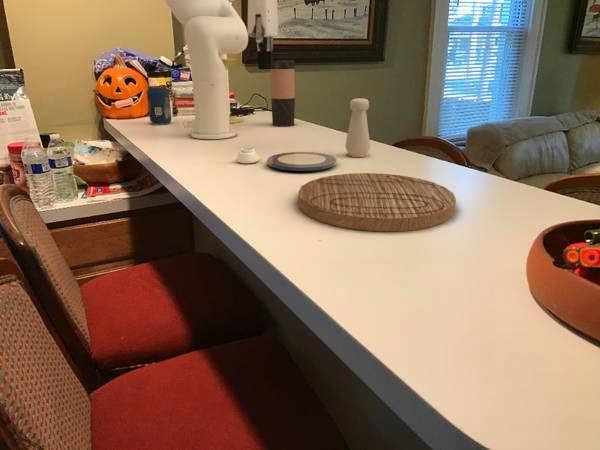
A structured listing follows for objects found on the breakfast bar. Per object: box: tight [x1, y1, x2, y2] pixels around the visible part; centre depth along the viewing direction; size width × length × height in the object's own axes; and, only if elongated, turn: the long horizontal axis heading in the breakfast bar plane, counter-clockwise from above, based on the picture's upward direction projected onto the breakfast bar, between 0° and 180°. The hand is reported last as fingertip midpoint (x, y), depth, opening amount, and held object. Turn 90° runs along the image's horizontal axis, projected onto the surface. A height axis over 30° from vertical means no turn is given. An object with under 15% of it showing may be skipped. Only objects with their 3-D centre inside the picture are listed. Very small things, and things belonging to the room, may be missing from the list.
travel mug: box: [270, 59, 296, 127], centre depth 151 cm, size 8×8×20 cm
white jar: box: [235, 146, 260, 165], centre depth 104 cm, size 5×3×5 cm
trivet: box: [297, 172, 457, 232], centre depth 76 cm, size 25×25×2 cm
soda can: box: [146, 85, 172, 126], centre depth 156 cm, size 7×7×12 cm
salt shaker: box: [345, 97, 371, 158], centre depth 109 cm, size 6×6×13 cm
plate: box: [266, 151, 337, 172], centre depth 102 cm, size 15×15×1 cm
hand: (265, 69), depth 112 cm, fingers closed
